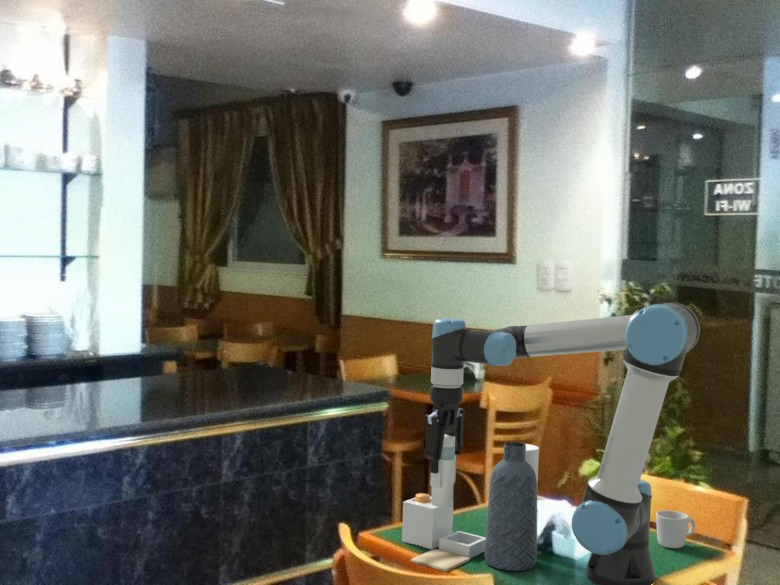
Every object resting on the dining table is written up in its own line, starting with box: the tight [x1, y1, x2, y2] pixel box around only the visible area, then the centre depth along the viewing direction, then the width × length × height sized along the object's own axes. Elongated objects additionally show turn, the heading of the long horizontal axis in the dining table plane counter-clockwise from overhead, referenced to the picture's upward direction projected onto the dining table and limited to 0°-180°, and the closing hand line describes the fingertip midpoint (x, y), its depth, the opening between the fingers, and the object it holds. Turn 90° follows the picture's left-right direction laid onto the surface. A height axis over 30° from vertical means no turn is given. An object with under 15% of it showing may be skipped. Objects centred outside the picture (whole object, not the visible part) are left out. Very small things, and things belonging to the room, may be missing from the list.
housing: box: [401, 495, 486, 559], centre depth 234 cm, size 20×9×10 cm, turn 53°
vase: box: [484, 441, 538, 572], centre depth 222 cm, size 12×12×28 cm
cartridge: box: [430, 434, 455, 507], centre depth 222 cm, size 5×5×16 cm
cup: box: [655, 509, 696, 549], centre depth 240 cm, size 11×8×8 cm
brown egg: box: [414, 492, 431, 504], centre depth 238 cm, size 4×4×6 cm
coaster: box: [410, 548, 471, 573], centre depth 223 cm, size 10×10×1 cm
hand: (442, 483), depth 222 cm, fingers closed on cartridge, 5 cm apart
